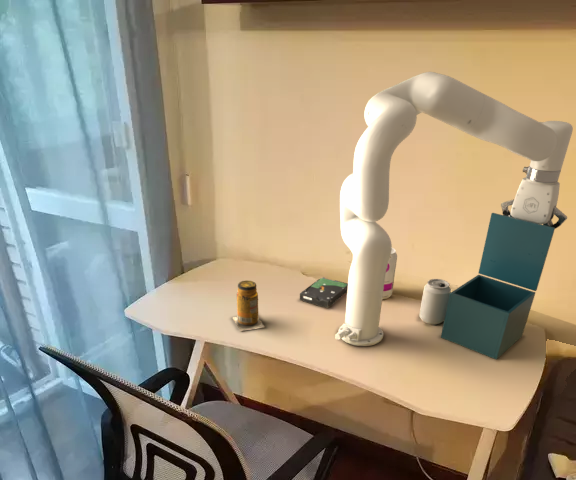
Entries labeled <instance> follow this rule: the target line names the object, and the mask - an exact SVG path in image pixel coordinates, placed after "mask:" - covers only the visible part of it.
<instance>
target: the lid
mask: <svg viewBox="0 0 576 480" xmlns="http://www.w3.org/2000/svg"><path fill="white" fill-rule="evenodd" d="M555 230H556V229H555V228H554V227H550V226H546V225H543V224H537V223H533V222H529V221H525V220H521V219H517V218H513V217H509V216H505V215H503V214H500V213H495V212H491V214H490V218H489V223H488V227H487V232H486V237H485V241H484V246H483V250H482V251H483V252H482V255H481V259H480V264H479V268H478V275H482V276H485V277H488V278H491V279H494V280H497V281H501V282H504V283H507V284H510V285H513V286H517V287H520V288H523V289H526V290H529V291H533V292H537V290H538V287H539V284H540V280H541V277H542V274H543V270H544V268H545V263H546V261H547V257H548V253H549V249H550V246H551V243H552V240H553V237H554V233H555Z"/></svg>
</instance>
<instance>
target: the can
mask: <svg viewBox="0 0 576 480" xmlns="http://www.w3.org/2000/svg"><path fill="white" fill-rule="evenodd" d="M450 285H451V284H450V282H448V281H447V280H445V279H442V278H432V279H428V280H427V283H426V284H424V287H423V292H422V297H421V302H420V303H421V304H420V309H419V315H418V316H419V319H420V320H421V321H422V322H423V323H425V324H427V325H433V326H434V325H440V324H441V323H444V320H445V315H446V310H447V305H448V300H449V296H450V293H451V292H452V288H451V287H450Z"/></svg>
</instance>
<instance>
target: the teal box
mask: <svg viewBox="0 0 576 480" xmlns="http://www.w3.org/2000/svg"><path fill="white" fill-rule="evenodd" d="M536 293H537V291H533V290H530V289H527V288H524V287H520V286H517V285H514V284H511V283H508V282H504V281H501V280H498V279H495V278H492V277H488V276H485V275H482V274H476V275H475V276H474V277H472V278H471V279H469V280H467V281H466V282H465V283H463V284H462V285H460V286H459V287H457V288H456V289H454V290H453V291H451V292H450V296H449V300H448V305H447V310H446V315H445V320H444V321H443V326H442V329H441V335H440V338H441V339H443V340H446V341H449V342H451V343H453V344H454V343H455V344H456V345H459V346H462V347H464V348H467V349H469V350H471V351H474V352H476V353H479V354H481V355H483V356H486V357H489V358H492V359H494V360H498V359H499V358H500V357H501V356H502V355H503V354H505V352H507V351H508V350H509V349H510V348H511V347H512V346H514V345H515V344H516V342H518V341H519V340H520V339H521V338H522V337H523V335H524V331H525V329H526V325H527V321H528V318H529V315H530V312H531V309H532V306H533V302H534V300H535V295H536Z"/></svg>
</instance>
